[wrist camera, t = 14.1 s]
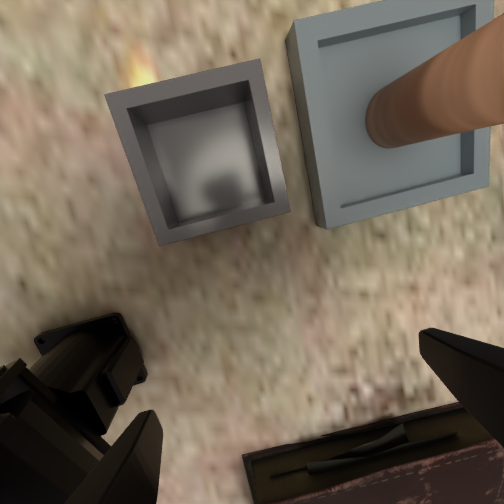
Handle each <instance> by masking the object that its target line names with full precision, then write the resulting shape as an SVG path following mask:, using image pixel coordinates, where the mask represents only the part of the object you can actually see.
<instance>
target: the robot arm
mask: <svg viewBox="0 0 504 504" xmlns="http://www.w3.org/2000/svg"><path fill="white" fill-rule="evenodd" d="M113 318H114V319H116V320H117V322H115V321H113V320H112V319H113ZM42 339H44V340H45V341H44V340H42ZM34 342H35V344H36V346H37V348H38V350H39V351H40V353H41V355H42V357H41V358H40V359H39V360H38V361H37V362H36V363H35V364H34V365H33V366H32V367H31V368H30V369H27V368H26V366H27V364H26V363H25V362H24V361H23V360H21V359H20V358H19V359H17V360H15V361H13V362H12V363H10V364H8V365H7V366H2V367H0V504H156V502H157V495H158V486H159V475H160V464H161V453H162V442H163V429H162V426H161V424H160V422H159V420H158V418H157V415H156V413H155V412H154V410H147V411H144V412H141V413H139V414H138V415H137V416H136V417H135V419H134V420H133V421H132V422H131V423H130V425H129V426H128V427H127V428H126V429H125V431H124V432H123V433H122V434H121V436H120V437H119V438H118V439H117V440H116V442H115V443H114V444H113V445H112V446H110V445H109V444H108V443H107V442H106V441H105V440H104V439H103V438H102V437H101V435H104V434H106V433H107V431H108V429H109V426H110V424H111V422H112V420H113V418H114V416H115V414H116V412H117V410H118V407H119V406H121V405H124V403H125V401H126V400H127V397H128V395H129V393H130V391H131V389H132V386H133V385H137V384H140V383H143V382H144V381H145V380H146V378H147V372H146V369H145V367H144V365H143V362H144V361H143V359H142V356H141V354H140V352H139V349H138V347H137V345H136V343H135V340H134V338H133V337H132V336H131V335H130V334H129V331H128V329H127V327H126V325H125V322H124V320H123V318H122V316H121V315H120V314H118V313H112V314H108V315H105V316H101V317H97V318H94V319H90V320H86V321H83V322H79V323H75V324H72V325H68V326H64V327H61V328H57V329H53V330H50V331H46V332H42V333H40V334H39V335H37V336H36V337H35V338H34ZM419 349H420V354H421V356H422V358H423V359H424V360H425V361H426V363H427V364H428V365H429V366H430V368H431V369H432V370H433V371H434V372H435V374H436V375H437V376H438V377H439V378H440V380H441V381H442V382H443V383H444V385H445V386H446V387H447V388H448V389H449V391H450V392H451V393H452V394H453V395H454V397H455V398H456V399H457V400H458V401H459V402H460V403H461V404H462V405H463V407H464V408H465V409H466V410H467V411H468V412H469V413H470V414H471V415H472V416H473V417H474V418H475V419H476V420H477V421H478V422H479V423H480V424H481V425H482V426H483V427H484V428H485V429H486V430H487V431H488V432H489V433H490V434H491V435H492V437H493V438H494V439H495V440H496V441H497V442H498V443H499V444H500V445H501V446H502V447H503V448H504V348H502V347H498V346H495V345H491V344H488V343H484V342H481V341H477V340H474V339H470V338H467V337H464V336H460V335H457V334H453V333H450V332H446V331H443V330H439V329H436V328H428V329H424V330H421V331H420V332H419ZM139 376H142V377H139Z"/></svg>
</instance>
